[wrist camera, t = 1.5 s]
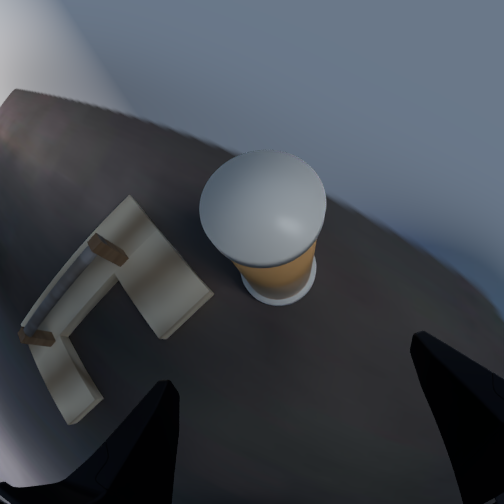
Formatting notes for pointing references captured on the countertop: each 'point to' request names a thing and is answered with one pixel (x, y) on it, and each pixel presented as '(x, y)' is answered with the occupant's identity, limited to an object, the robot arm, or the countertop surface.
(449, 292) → the countertop surface
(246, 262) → the lidded paper cup
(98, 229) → the grey piece
